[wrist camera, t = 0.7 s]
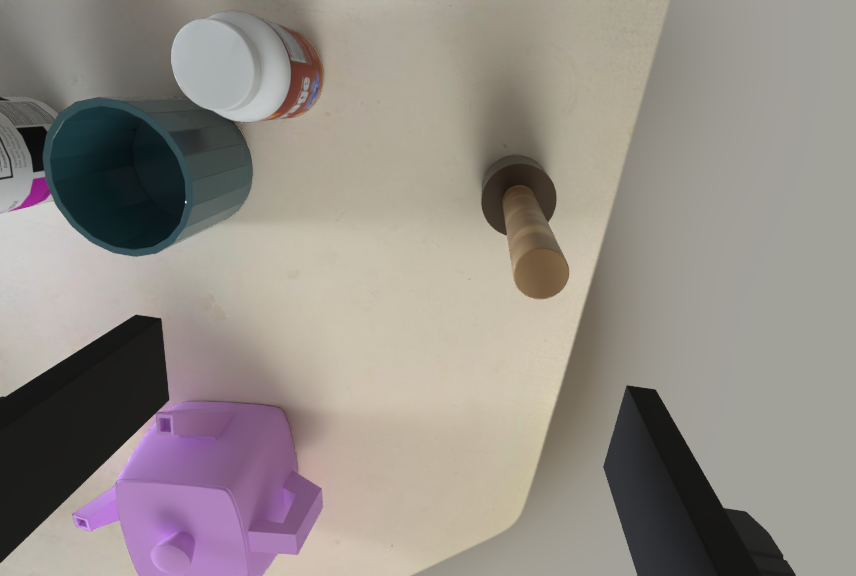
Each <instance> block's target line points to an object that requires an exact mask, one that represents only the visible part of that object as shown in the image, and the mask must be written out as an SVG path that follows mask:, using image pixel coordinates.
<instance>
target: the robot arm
mask: <svg viewBox="0 0 856 576" xmlns="http://www.w3.org/2000/svg"><path fill="white" fill-rule="evenodd" d="M168 401H169V392H168V382H167V372H166V361H165V351H164V341H163V331H162V321H161V318H155V317H148V316H141V315H135V316H133V317H131V318H130V319H128V320H127V321H125V322H123V323H122V324H120V325H119V326H117V327H115V328H114V329H112V330H111V331H109V332H108V333H106V334H104V335H103V336H101V337H100V338H98V339H96V340H95V341H93V342H92V343H90V344H89V345H87V346H85V347H84V348H82V349H81V350H79V351H77V352H76V353H74V354H73V355H71V356H69V357H68V358H66V359H65V360H63V361H62V362H60V363H58V364H57V365H55V366H54V367H52V368H50V369H49V370H47V371H46V372H44V373H42V374H41V375H39V376H38V377H36V378H35V379H33V380H31V381H30V382H28V383H27V384H25V385H23V386H22V387H20V388H19V389H17V390H15V391H14V392H12V393H11V394H9V395H8V396H6V397H3V396H2V397H0V563H1V562H2V561H3V560H4V559H5V558H6V557H7V556H8V555H9V554H10V553H11V552H12V551H13V550H14V549H16V548H17V547H18V546H19V545H20V544H21V543H22V542H23V541H24V540H25V539H26V538H27V537H28V536H29V535H30V534H31V533H32V532H33V531H34V530H35V529H36V528H37V527H38V526H39V525H40V524H41V523H42V522H43V521H45V520H46V519H47V518H48V517H49V516H50V515H51V514H52V513H53V512H54V511H55V510H56V509H57V508H58V507H59V506H60V505H61V504H62V503H63V502H64V501H65V500H66V499H67V498H68V497H69V496H70V495H71V494H72V493H74V492H75V491H76V490H77V489H78V488H79V487H80V486H81V485H82V484H83V483H84V482H85V481H86V480H87V479H88V478H89V477H90V476H91V475H92V474H93V473H94V472H95V471H96V470H97V469H98V468H99V467H100V466H101V465H102V464H104V463H105V462H106V461H107V460H108V459H109V458H110V457H111V456H112V455H113V454H114V453H115V452H116V451H117V450H118V449H119V448H120V447H121V446H122V445H123V444H124V443H125V442H126V441H127V440H128V439H129V438H130V437H131V436H133V435H134V434H135V433H136V432H137V431H138V430H139V429H140V428H141V427H142V426H143V425H144V424H145V423H146V422H147V421H148V420H149V419H150V418H151V417H152V416H153V415H154V414H155V413H156V412H157V411H158V410H159V409H160V408H162V407H163V406H164V405H165V404H166V403H167V402H168ZM604 471H605V474H606V477H607V480H608V483H609V486H610V490H611V493H612V496H613V499H614V502H615V505H616V509H617V512H618V515H619V518H620V521H621V524H622V528H623V531H624V534H625V537H626V540H627V544H628V547H629V550H630V553H631V556H632V559H633V563H634V566H635V569H636V572H637V575H638V576H796V575H795V573H794V571H793V570H792V568H791V567H790V565H789V564H788V562H787V561H786V560H784V559H783V554H782V553H781V551H780V550H779V548H778V547H777V545H776V544H775V542H774V540H773V539H772V537H771V536H770V534H769V533H768V532H767V531H766V530H765V529H764V528H763V527H762V526H761V525H760V524H759V523H758V522H757V521H755V520H754V519H753V518H752V517H751V516H750V515H749V514H748V513H747V512H745V511H739V510H733V509H725V508H723V506H722V505H721V503H720V501H719V499H718V498H717V496H716V494H715V492H714V491H713V489H712V487H711V485H710V484H709V482H708V480H707V478H706V477H705V475H704V473H703V471H702V470H701V468H700V466H699V464H698V463H697V461H696V459H695V458H694V456H693V454H692V452H691V451H690V449H689V447H688V445H687V444H686V442H685V440H684V438H683V437H682V435H681V433H680V431H679V430H678V428H677V426H676V424H675V423H674V421H673V419H672V418H671V416H670V414H669V412H668V410H667V409H666V407H665V405H664V403H663V402H662V400H661V398H660V397H659V395H658V393H657V391H656V390H654V389H648V388H641V387H634V386H626V390H625V393H624V397H623V400H622V403H621V407H620V411H619V414H618V417H617V421H616V425H615V428H614V432H613V435H612V438H611V442H610V445H609V449H608V453H607V456H606V459H605V463H604Z"/></svg>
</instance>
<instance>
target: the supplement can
mask: <svg viewBox="0 0 856 576" xmlns="http://www.w3.org/2000/svg"><path fill="white" fill-rule="evenodd" d="M57 115H59V114H58V113H57V112H56V111H54V110H53V109H52V108H50V107H49V106H48V105H46V104H45V103H43V102H40V101H38V100H35V99H32V98H29V97H0V214H1V213H5V212H10V211H14V210H18V209H22V208H26V207H30V206H34V205H38V204H42V203H46V202H50V201H54V200H53V197H52V195H51V192H50V190H49V188H48V185H47V183H46V182H47V181H46V179H45V172H44V164H43V151H44V145H45V139H46V135H47V132H48V130H49V129H50V127H51V125H52V124H53V122H54V120H55V119H56V117H57Z"/></svg>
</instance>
